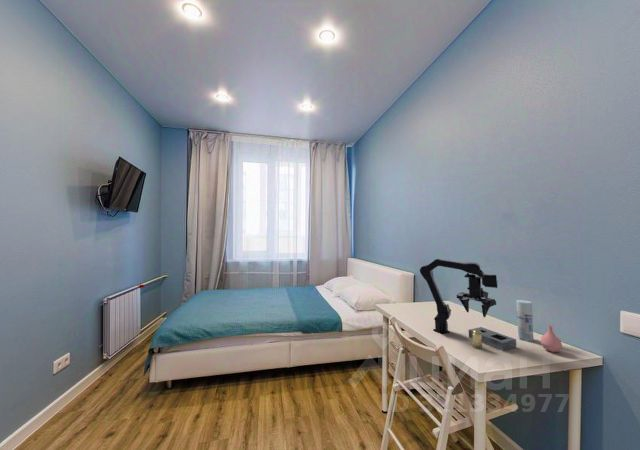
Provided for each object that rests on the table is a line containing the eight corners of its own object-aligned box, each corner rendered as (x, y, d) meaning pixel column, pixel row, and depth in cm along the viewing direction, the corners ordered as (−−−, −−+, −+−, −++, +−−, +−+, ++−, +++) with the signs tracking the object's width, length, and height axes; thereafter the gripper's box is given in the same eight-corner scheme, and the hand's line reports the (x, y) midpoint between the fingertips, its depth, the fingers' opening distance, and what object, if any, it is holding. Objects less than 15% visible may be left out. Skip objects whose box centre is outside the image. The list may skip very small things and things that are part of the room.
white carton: (524, 335, 137) (522, 299, 137) (537, 340, 130) (535, 302, 131) (515, 337, 135) (513, 300, 136) (527, 342, 129) (525, 303, 129)
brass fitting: (478, 349, 122) (477, 333, 122) (470, 346, 126) (470, 330, 126) (484, 348, 123) (483, 331, 124) (476, 344, 127) (475, 329, 127)
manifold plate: (503, 351, 120) (502, 342, 120) (468, 337, 136) (468, 329, 137) (516, 347, 123) (515, 339, 124) (481, 334, 140) (481, 326, 140)
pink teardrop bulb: (549, 346, 123) (548, 322, 124) (567, 354, 116) (565, 328, 116) (536, 348, 122) (535, 323, 123) (553, 355, 115) (551, 329, 115)
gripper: (501, 287, 131) (503, 317, 130) (468, 281, 148) (469, 308, 147) (488, 289, 126) (490, 320, 125) (455, 283, 143) (456, 310, 142)
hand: (475, 314), depth 135 cm, fingers open, 9 cm apart
